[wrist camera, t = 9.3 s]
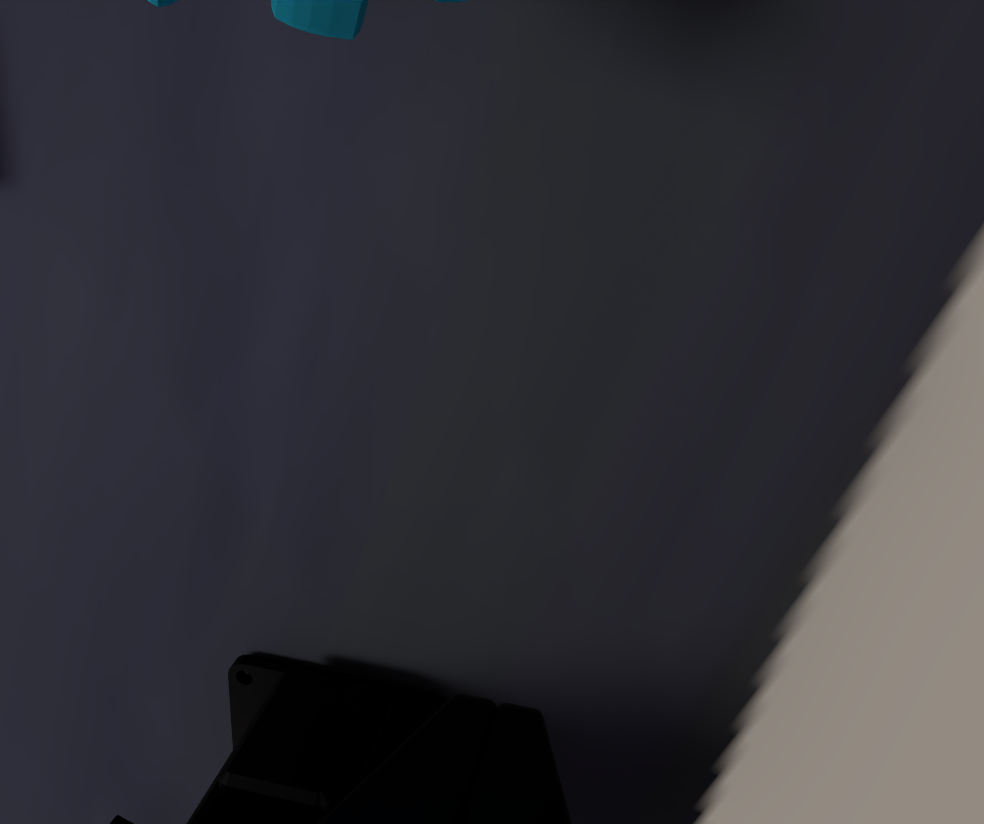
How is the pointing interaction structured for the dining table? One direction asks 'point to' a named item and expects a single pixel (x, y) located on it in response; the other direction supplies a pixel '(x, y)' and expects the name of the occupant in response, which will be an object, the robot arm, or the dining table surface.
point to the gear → (318, 15)
